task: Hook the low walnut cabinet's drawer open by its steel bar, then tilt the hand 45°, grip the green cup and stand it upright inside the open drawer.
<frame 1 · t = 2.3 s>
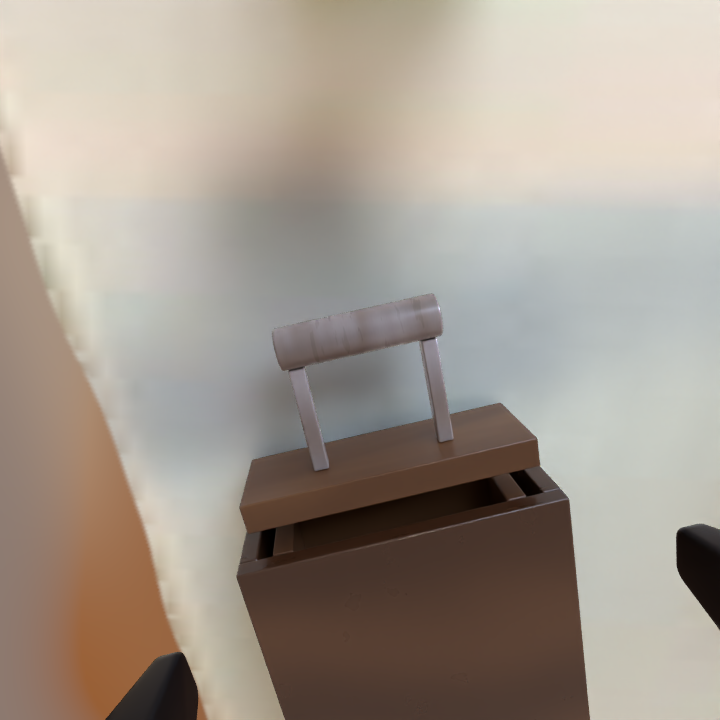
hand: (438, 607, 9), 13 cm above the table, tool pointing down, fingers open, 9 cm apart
drawer: (403, 548, 21), point 3 cm above the table, slide at 1.0 cm
cabinet: (414, 603, 25), on the table
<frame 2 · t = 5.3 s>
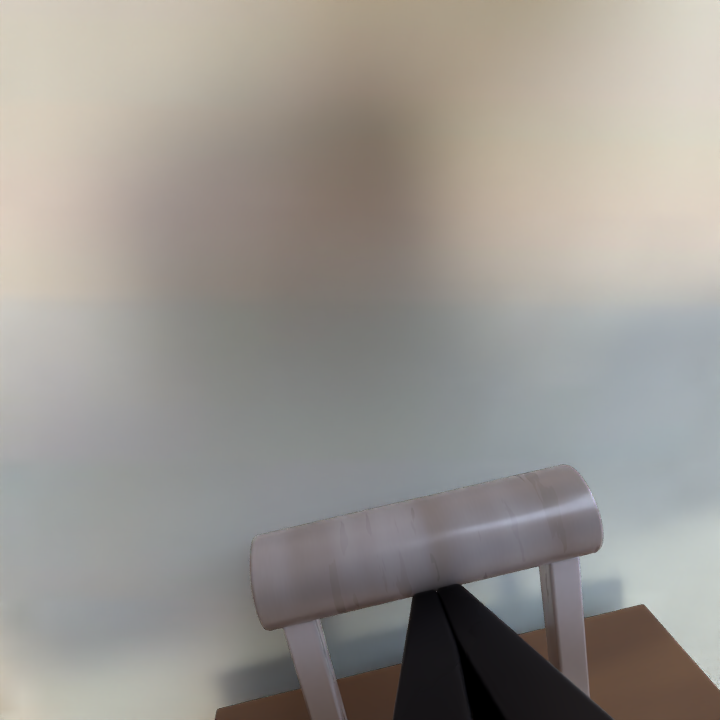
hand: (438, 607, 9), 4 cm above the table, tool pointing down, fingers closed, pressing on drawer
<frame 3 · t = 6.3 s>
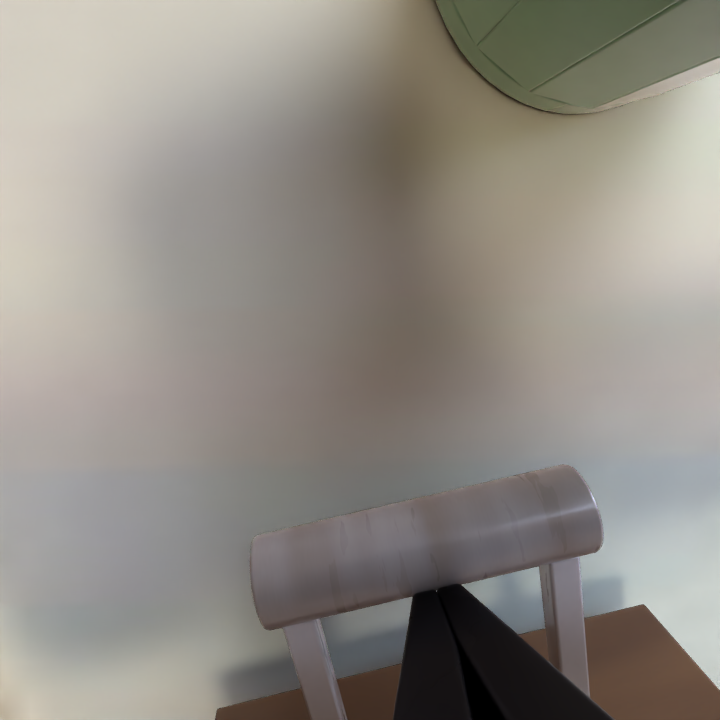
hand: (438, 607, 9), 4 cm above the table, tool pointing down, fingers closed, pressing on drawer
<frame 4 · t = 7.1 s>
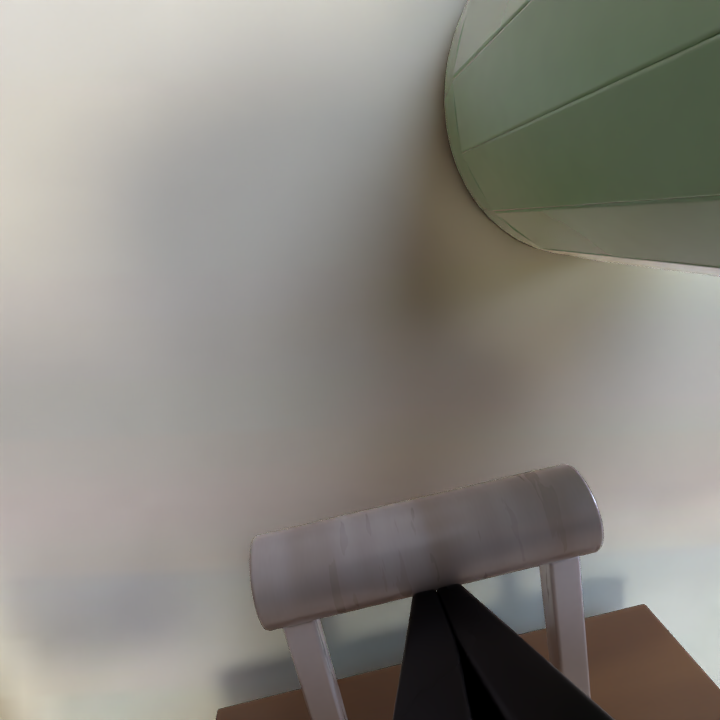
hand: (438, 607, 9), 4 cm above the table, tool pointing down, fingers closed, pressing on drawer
green cup: (596, 95, 10), on the table
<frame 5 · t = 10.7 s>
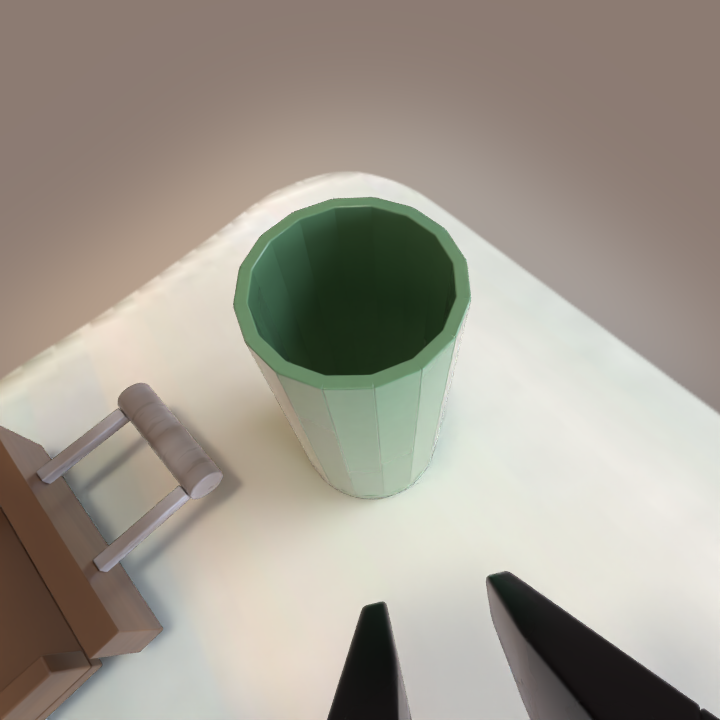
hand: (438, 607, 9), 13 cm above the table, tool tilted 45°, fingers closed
green cup: (370, 434, 24), on the table
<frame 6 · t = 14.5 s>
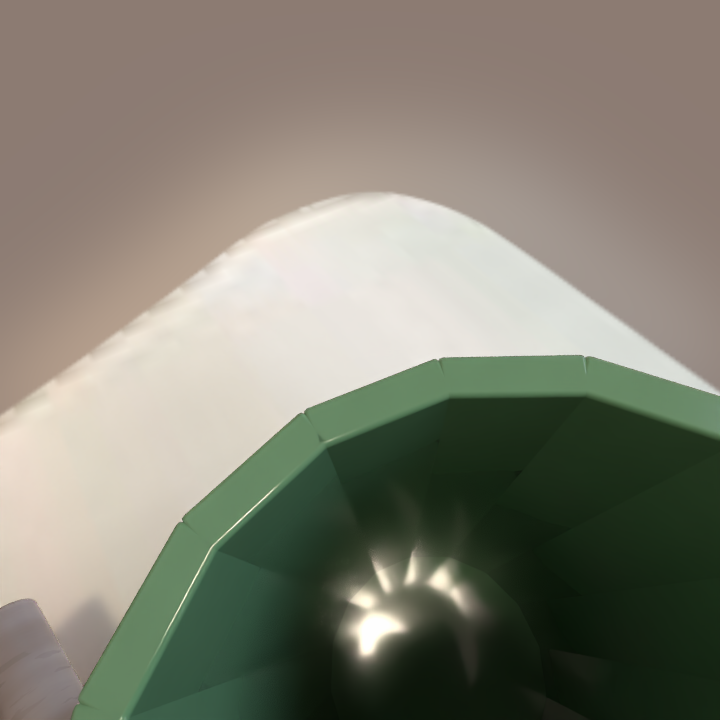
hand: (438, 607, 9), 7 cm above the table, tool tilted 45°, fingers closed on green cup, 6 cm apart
green cup: (433, 666, 14), on the table, touching gripper
when the fingers open (9 cm above the table, at t = 21.9 s): green cup stays where it is, resting on drawer.
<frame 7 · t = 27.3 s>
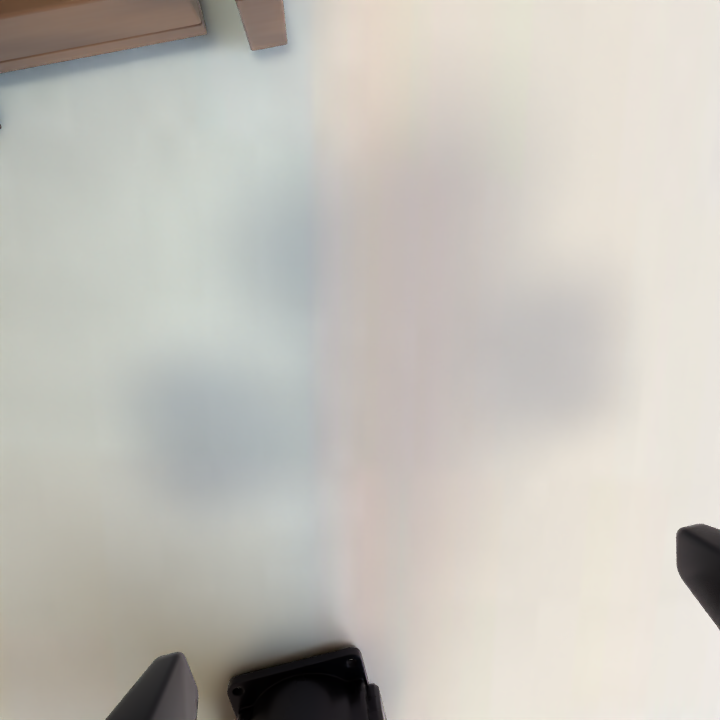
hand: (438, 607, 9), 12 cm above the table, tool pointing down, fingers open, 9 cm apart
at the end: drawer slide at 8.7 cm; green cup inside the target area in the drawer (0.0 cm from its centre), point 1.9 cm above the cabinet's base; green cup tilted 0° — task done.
